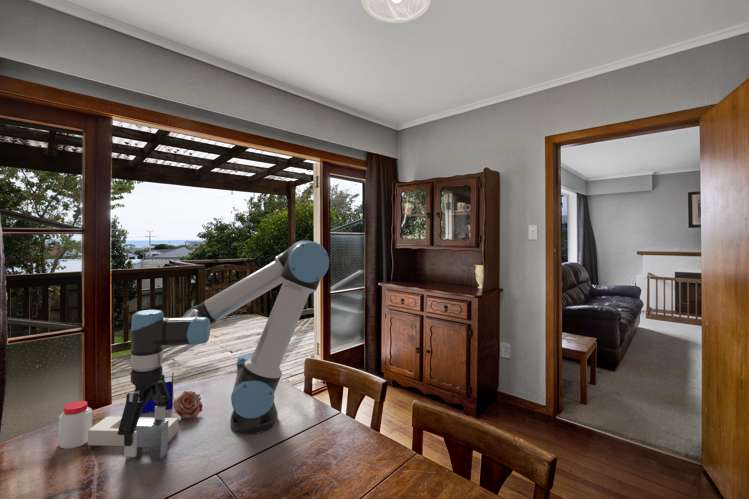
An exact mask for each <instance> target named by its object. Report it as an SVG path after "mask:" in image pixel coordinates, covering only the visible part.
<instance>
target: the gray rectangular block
mask: <svg viewBox="0 0 749 499" xmlns="http://www.w3.org/2000/svg"><path fill="white" fill-rule="evenodd" d="M135 431H137V455H136V456H135V457H125V462H129V461H130V462H135V461H136V460H137V459H138V458H139V457H140V456H141V455H143V452H144V451H143V448H150V449H151V451H150V453H151V454H150V457H151V458H150V459H151V460H150V461H151V462H161V461H163V459H164V458H165V457H166V456H167V455H168V443H167V441H168V420H159V419H139V421H138V423H137V426H136V428H135Z"/></svg>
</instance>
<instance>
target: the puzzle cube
mask: <svg viewBox="0 0 749 499" xmlns="http://www.w3.org/2000/svg"><path fill="white" fill-rule="evenodd" d="M162 375H164V376H165V383H166V386H167V389H168V392H169V395H170V400H167V401H169V405H165V411H167V410H171V409H173V408H174V372H173V371H170V372H164V373H163V372H162ZM155 406H158V405H157V404H156V403H155V402H154V401H153V399H152V398H151V399H150V400H149V401H148V402H147V404H146V406H144V407H143V410H142V413H141V415H142V414H143V415H144V414H149V413H155Z"/></svg>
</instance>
